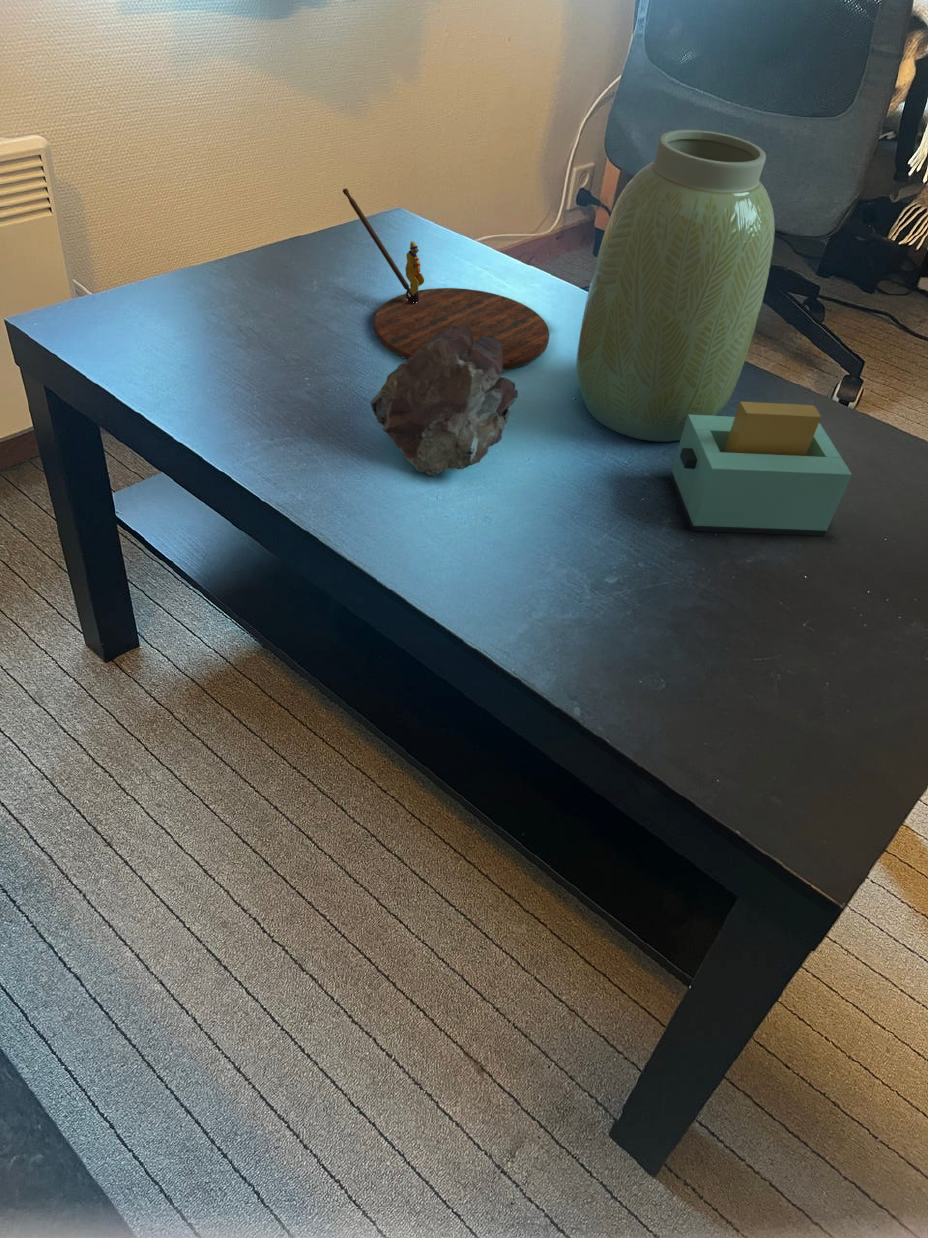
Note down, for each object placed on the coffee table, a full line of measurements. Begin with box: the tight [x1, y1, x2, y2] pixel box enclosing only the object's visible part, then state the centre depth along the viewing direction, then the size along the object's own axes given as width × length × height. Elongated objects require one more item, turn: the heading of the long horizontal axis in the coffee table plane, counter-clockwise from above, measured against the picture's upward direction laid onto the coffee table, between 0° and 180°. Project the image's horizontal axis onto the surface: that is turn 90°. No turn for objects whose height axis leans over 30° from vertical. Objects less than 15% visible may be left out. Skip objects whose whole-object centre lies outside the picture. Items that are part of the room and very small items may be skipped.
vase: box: [575, 129, 776, 443], centre depth 93 cm, size 17×17×27 cm
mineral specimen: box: [369, 325, 519, 477], centre depth 90 cm, size 12×13×15 cm
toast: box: [723, 401, 822, 456], centre depth 86 cm, size 7×2×10 cm, turn 94°
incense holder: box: [342, 188, 550, 371], centre depth 110 cm, size 21×30×11 cm
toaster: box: [669, 414, 853, 537], centre depth 88 cm, size 14×9×7 cm, turn 93°
